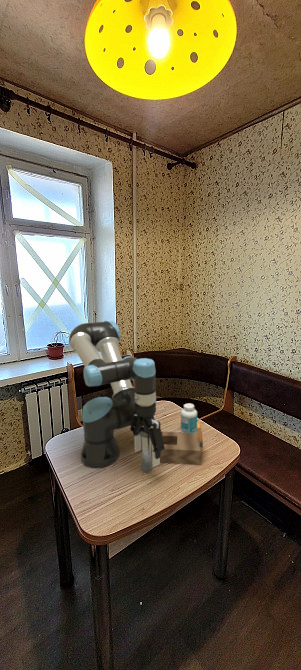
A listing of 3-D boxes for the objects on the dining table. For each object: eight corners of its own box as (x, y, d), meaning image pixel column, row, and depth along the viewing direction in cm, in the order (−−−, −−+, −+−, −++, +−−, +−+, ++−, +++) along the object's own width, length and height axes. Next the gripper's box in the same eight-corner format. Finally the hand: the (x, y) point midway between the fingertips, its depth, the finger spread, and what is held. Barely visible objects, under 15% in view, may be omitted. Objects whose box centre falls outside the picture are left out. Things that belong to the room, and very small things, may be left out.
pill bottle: (196, 428, 128) (196, 402, 126) (197, 437, 121) (198, 409, 118) (180, 428, 129) (180, 401, 126) (180, 436, 122) (180, 409, 119)
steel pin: (139, 473, 100) (137, 433, 96) (141, 463, 105) (140, 426, 101) (153, 474, 99) (152, 434, 96) (154, 464, 104) (153, 426, 101)
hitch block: (158, 462, 105) (158, 444, 104) (161, 444, 117) (161, 427, 115) (202, 465, 103) (203, 446, 101) (201, 446, 115) (201, 429, 113)
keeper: (199, 436, 109) (202, 435, 109) (199, 441, 106) (202, 441, 105) (196, 422, 108) (199, 422, 108) (197, 427, 105) (200, 427, 104)
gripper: (119, 394, 103) (121, 446, 107) (157, 417, 85) (158, 479, 90) (135, 389, 107) (137, 439, 112) (175, 410, 90) (175, 469, 94)
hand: (146, 457), depth 101 cm, fingers open, 10 cm apart
